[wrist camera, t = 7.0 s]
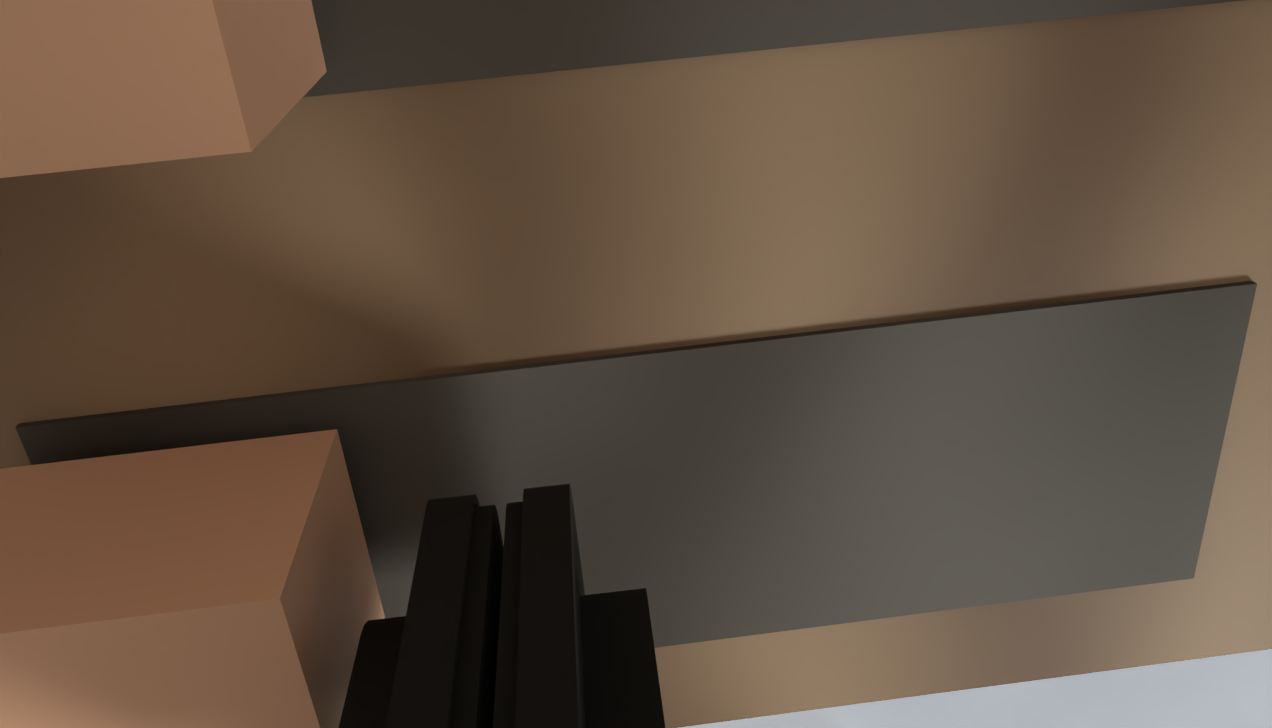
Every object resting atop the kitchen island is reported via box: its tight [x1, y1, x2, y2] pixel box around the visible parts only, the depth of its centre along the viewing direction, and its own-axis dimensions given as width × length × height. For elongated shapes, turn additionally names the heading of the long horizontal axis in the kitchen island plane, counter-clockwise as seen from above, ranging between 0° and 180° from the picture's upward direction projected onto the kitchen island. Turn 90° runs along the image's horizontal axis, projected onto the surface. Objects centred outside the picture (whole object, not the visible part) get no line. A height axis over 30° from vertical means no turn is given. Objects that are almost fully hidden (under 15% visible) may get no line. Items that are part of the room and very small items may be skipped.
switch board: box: [0, 0, 1272, 728], centre depth 12 cm, size 22×16×2 cm
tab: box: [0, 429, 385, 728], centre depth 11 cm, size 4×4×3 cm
